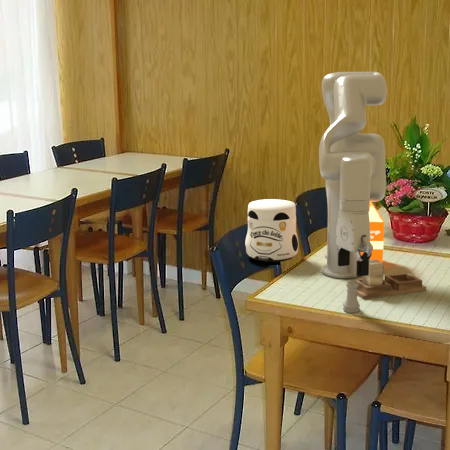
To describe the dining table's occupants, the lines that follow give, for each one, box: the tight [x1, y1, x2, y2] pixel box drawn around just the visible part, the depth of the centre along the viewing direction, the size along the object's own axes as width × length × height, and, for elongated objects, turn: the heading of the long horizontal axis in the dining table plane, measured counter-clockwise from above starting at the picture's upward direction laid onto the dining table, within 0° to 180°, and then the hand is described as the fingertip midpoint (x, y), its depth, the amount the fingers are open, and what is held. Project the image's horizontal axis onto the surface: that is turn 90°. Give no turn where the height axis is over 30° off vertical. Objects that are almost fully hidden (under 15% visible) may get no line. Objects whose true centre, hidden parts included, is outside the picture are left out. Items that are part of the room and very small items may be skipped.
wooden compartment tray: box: [354, 259, 427, 300], centre depth 203 cm, size 8×20×9 cm, turn 109°
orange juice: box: [359, 202, 385, 264], centre depth 226 cm, size 8×9×20 cm
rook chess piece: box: [342, 279, 361, 314], centre depth 188 cm, size 4×4×8 cm
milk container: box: [244, 198, 300, 263], centre depth 234 cm, size 17×17×18 cm
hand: (352, 270), depth 186 cm, fingers open, 9 cm apart
